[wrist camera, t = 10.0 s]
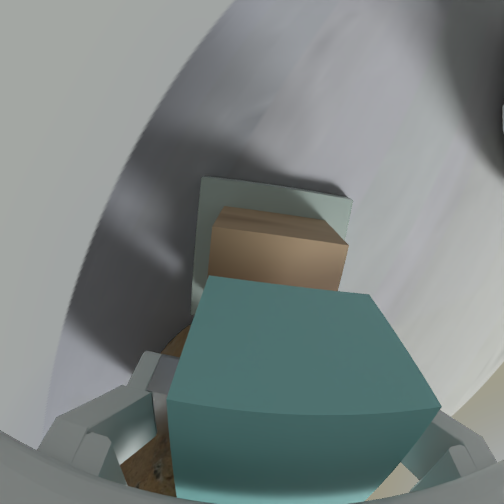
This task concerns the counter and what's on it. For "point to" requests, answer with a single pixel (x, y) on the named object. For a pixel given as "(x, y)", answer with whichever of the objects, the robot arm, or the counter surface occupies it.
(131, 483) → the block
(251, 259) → the walnut base block
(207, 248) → the square tile
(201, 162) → the counter surface
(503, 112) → the white coral
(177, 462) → the teal cube
